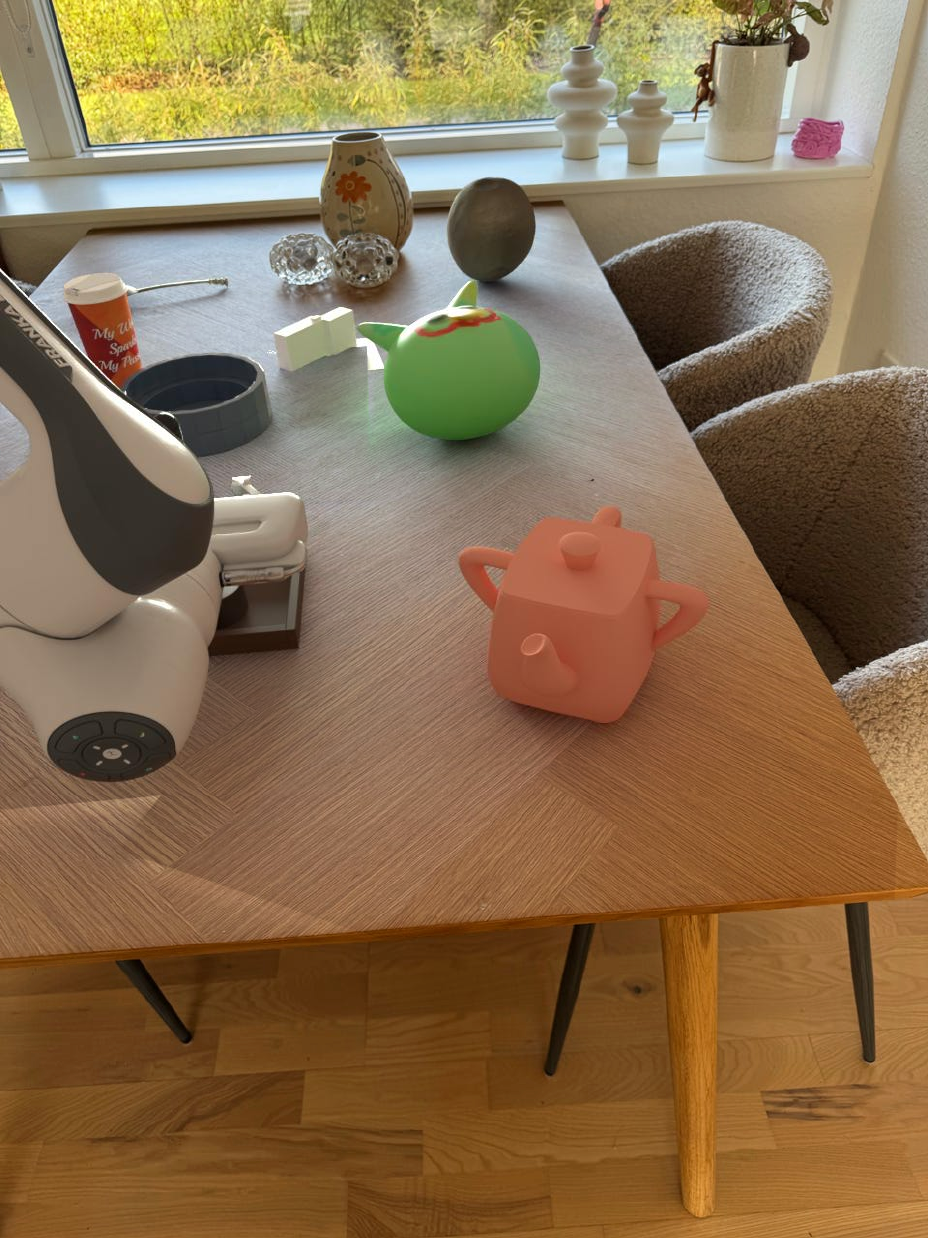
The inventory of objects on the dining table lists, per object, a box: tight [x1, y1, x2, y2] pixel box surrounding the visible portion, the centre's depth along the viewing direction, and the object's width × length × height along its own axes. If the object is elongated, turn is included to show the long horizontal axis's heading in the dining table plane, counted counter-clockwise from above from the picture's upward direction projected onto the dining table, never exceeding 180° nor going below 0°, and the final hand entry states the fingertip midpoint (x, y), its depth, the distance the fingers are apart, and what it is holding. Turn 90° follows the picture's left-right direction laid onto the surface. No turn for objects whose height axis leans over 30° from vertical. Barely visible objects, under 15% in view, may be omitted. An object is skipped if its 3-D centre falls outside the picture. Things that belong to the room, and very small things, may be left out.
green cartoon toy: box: [356, 280, 541, 441], centre depth 104 cm, size 18×17×15 cm
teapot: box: [457, 505, 710, 724], centre depth 70 cm, size 17×16×13 cm
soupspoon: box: [126, 276, 229, 297], centre depth 147 cm, size 22×3×7 cm
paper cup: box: [62, 272, 143, 389], centre depth 117 cm, size 8×8×14 cm
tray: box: [207, 567, 306, 657], centre depth 83 cm, size 16×14×2 cm
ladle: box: [154, 413, 248, 630], centre depth 77 cm, size 6×6×19 cm
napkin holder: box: [266, 306, 385, 373], centre depth 124 cm, size 15×11×6 cm
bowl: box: [120, 352, 273, 458], centre depth 110 cm, size 17×17×6 cm
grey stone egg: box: [446, 176, 537, 282], centre depth 142 cm, size 14×14×15 cm
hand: (186, 488), depth 76 cm, fingers open, 8 cm apart
